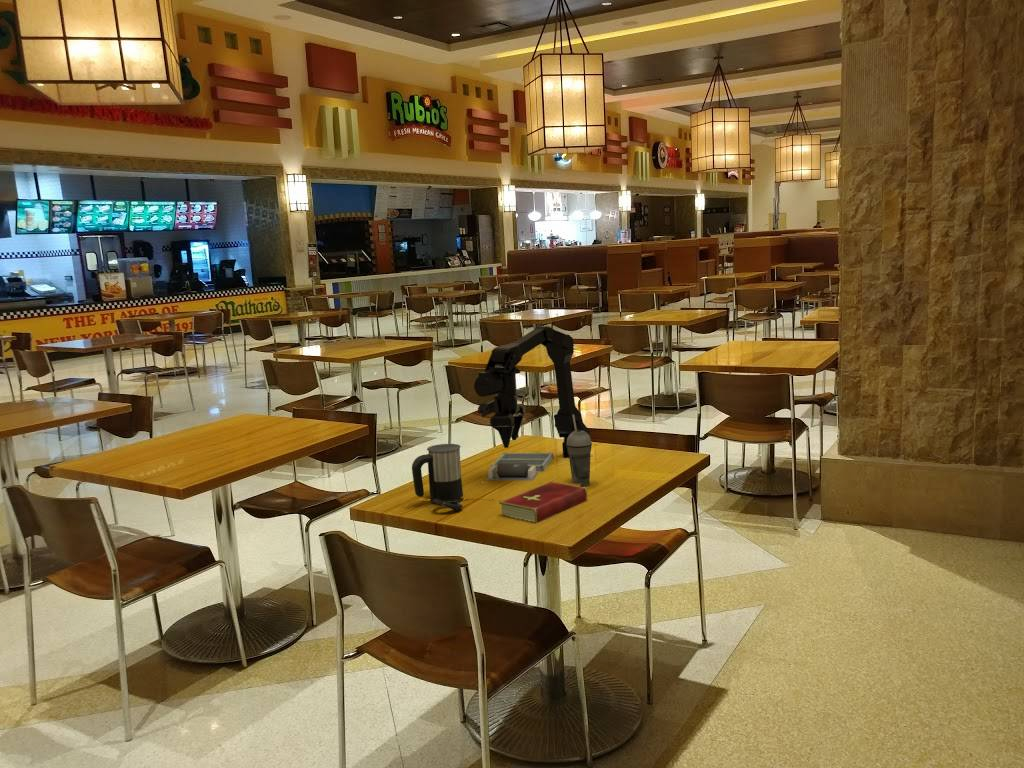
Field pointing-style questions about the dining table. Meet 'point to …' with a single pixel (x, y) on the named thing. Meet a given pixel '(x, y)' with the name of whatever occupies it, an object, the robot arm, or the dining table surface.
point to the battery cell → (512, 469)
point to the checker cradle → (494, 476)
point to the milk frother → (441, 475)
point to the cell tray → (526, 459)
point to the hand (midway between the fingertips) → (510, 443)
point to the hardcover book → (543, 501)
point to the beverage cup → (579, 455)
